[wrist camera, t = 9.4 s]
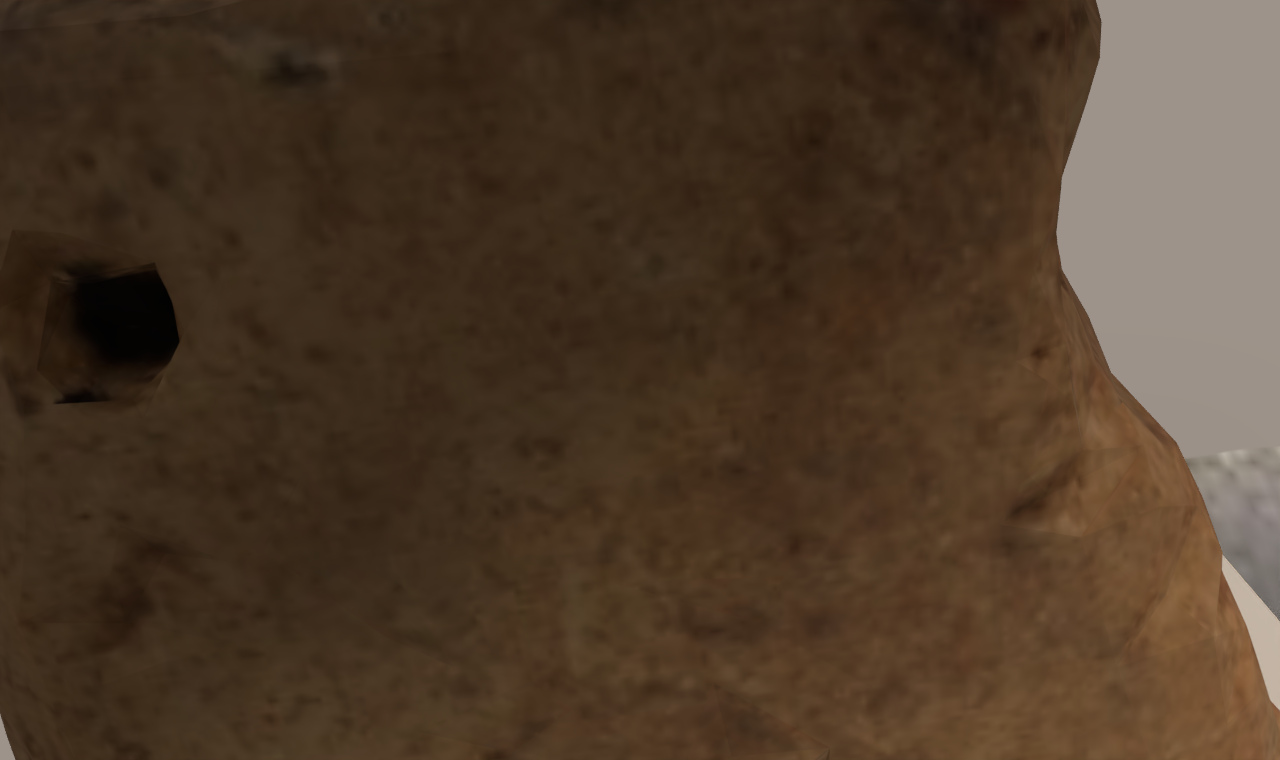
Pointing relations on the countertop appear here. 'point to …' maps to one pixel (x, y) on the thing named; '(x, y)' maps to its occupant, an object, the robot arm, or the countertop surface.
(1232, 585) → the robot arm
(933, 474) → the catalogued terracotta fragment
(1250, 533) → the countertop surface
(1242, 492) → the countertop surface
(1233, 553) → the countertop surface
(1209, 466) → the countertop surface
